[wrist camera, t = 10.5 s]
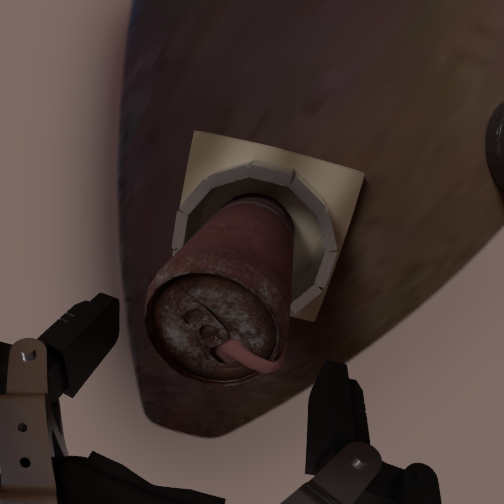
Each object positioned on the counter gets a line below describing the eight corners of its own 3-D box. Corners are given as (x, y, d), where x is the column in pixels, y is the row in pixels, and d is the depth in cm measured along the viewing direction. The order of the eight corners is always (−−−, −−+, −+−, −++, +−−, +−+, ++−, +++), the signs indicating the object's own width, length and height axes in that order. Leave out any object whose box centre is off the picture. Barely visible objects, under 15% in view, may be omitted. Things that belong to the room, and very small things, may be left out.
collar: (346, 183, 23) (356, 193, 19) (306, 308, 27) (306, 335, 23) (205, 147, 23) (187, 150, 20) (182, 275, 27) (165, 297, 24)
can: (281, 279, 26) (262, 411, 13) (207, 252, 26) (128, 361, 13) (309, 210, 24) (322, 303, 11) (229, 180, 24) (149, 239, 11)
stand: (361, 171, 23) (364, 173, 22) (314, 314, 28) (314, 322, 27) (198, 130, 24) (194, 130, 23) (174, 276, 29) (169, 282, 28)
